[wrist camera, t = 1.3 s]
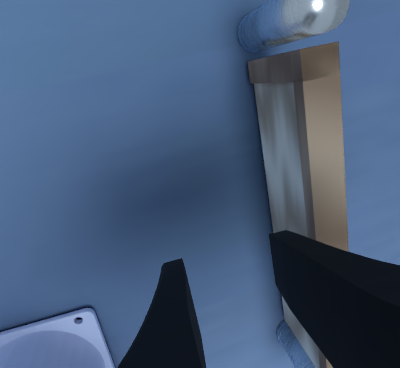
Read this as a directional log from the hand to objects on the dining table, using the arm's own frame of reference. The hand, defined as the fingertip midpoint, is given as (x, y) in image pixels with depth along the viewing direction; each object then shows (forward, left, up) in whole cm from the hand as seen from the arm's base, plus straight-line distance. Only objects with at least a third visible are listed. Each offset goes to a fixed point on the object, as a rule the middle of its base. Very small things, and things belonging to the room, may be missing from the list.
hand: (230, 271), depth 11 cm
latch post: (+5, +8, -9) cm, 14 cm away
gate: (+5, -2, -9) cm, 11 cm away
